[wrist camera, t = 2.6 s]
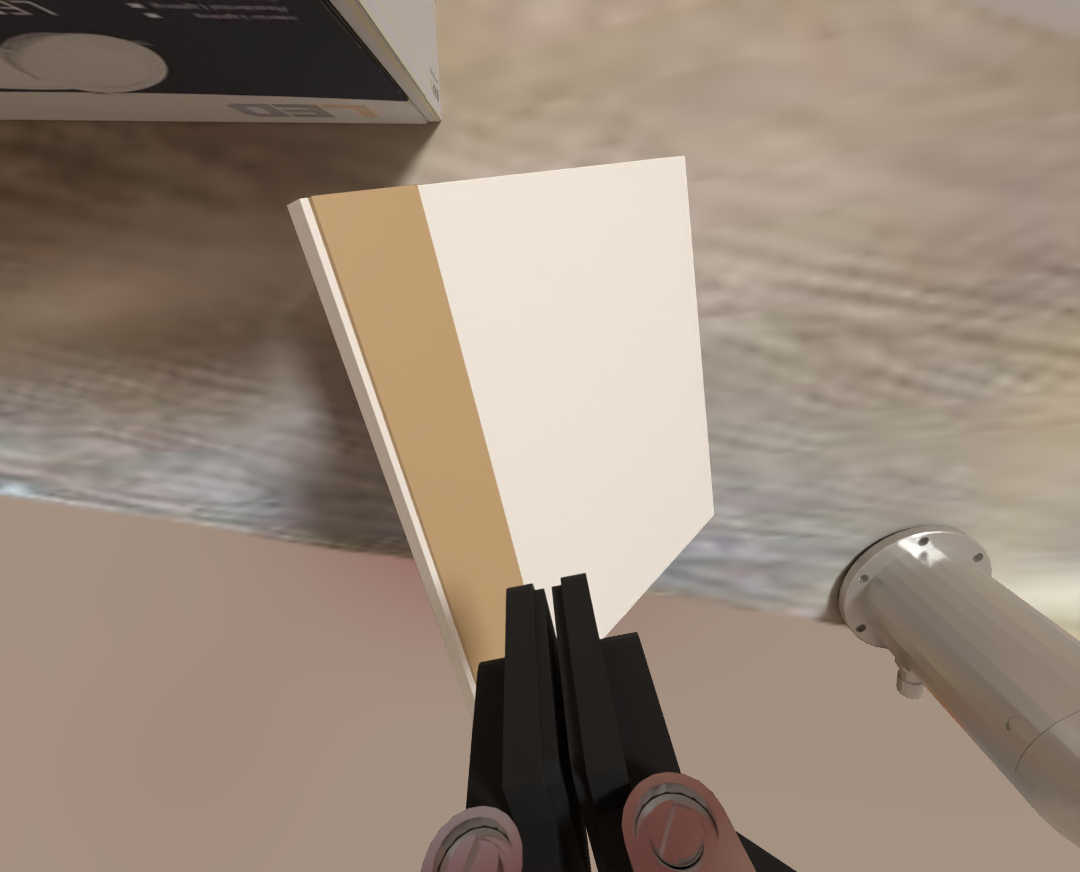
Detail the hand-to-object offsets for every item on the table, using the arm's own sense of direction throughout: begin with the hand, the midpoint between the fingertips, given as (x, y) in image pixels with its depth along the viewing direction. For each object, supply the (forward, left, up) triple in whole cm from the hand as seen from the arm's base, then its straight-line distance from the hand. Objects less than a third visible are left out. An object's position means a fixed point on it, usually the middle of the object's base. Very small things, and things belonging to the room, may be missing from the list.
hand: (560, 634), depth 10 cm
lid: (0, -2, -12) cm, 12 cm away
